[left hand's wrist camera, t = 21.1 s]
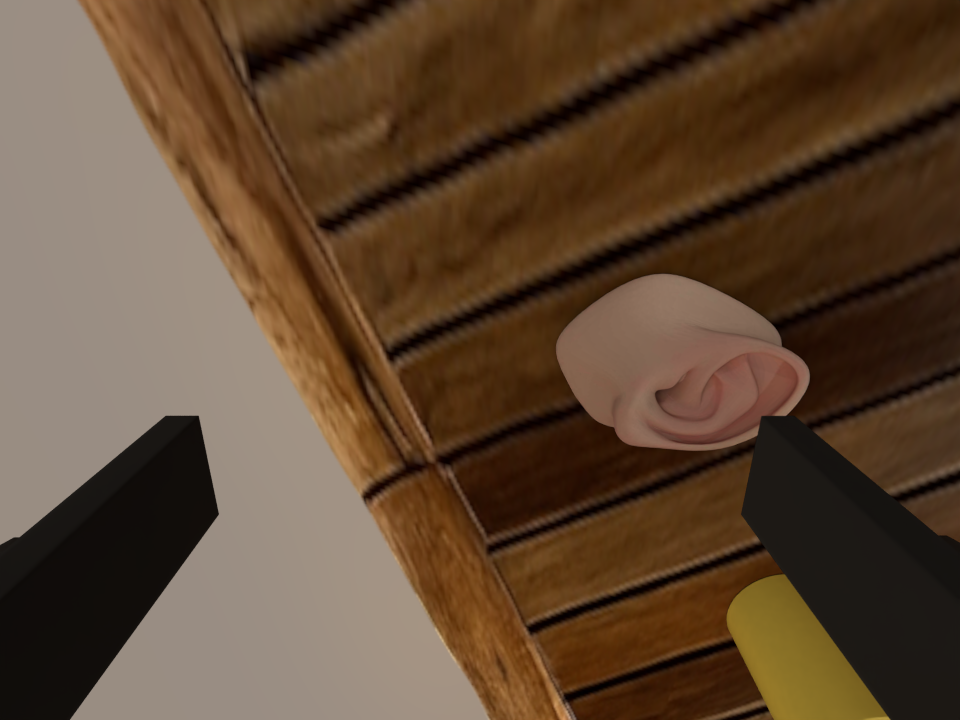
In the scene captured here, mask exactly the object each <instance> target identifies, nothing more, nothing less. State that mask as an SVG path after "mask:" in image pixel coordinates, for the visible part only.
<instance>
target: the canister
mask: <svg viewBox="0 0 960 720" xmlns="http://www.w3.org/2000/svg"><path fill="white" fill-rule="evenodd" d="M727 626H728V629H729V631H730V633H731V635H732V637H733V639H734V641H735V643H736V645H737V647H738V649H739V651H740V653H741V655H742V657H743V659H744V661H745V663H746V665H747V667H748V669H749V671H750V673H751V675H752V677H753V679H754V681H755V683H756V685H757V687H758V689H759V691H760V693H761V695H762V697H763V699H764V701H765V703H766V705H767V707H768V709H769V711H770V713H771V715H772V717H773V719H774V720H890V719H889V717H888V716H887V715H886V713H885V712H884V711H883V709H882V708H881V706H880V705H879V704H878V702H877V701H876V700H875V698H874V697H873V695H872V694H871V693H870V691H869V690H868V688H867V687H866V686H865V684H864V683H863V682H862V680H861V679H860V677H859V676H858V675H857V673H856V672H855V671H854V669H853V668H852V666H851V665H850V664H849V662H848V661H847V660H846V658H845V657H844V655H843V654H842V653H841V651H840V650H839V649H838V647H837V646H836V644H835V643H834V642H833V640H832V639H831V638H830V636H829V635H828V633H827V632H826V631H825V629H824V628H823V626H822V625H821V624H820V622H819V621H818V620H817V618H816V617H815V615H814V614H813V613H812V611H811V610H810V609H809V607H808V606H807V604H806V603H805V602H804V600H803V599H802V598H801V596H800V595H799V593H798V592H797V591H796V589H795V588H794V587H793V585H792V584H791V582H790V581H789V580H788V578H787V577H786V575H785V574H781V575H774V576H769V577H766V578H763V579H760V580H758V581H756V582H754V583H752V584H750V585H749V586H747V587H746V588H744V589H743V590H742V591H741V592H740V593H739V594H738V595H737V596H736V597H735V598H734V600H733V601H732V603H731V604H730V607H729V609H728V613H727Z"/></svg>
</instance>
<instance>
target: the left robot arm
mask: <svg viewBox="0 0 960 720" xmlns="http://www.w3.org/2000/svg"><path fill="white" fill-rule="evenodd" d="M218 515H219V513H218V508H217V503H216V498H215V493H214V488H213V483H212V479H211V474H210V469H209V464H208V459H207V454H206V449H205V444H204V440H203V435H202V430H201V425H200V420H199V416H165V417H164V418H163V419H161V420H160V421H159V422H158V423H157V424H155V425H154V426H153V427H152V428H151V429H149V430H148V431H147V432H146V433H145V434H143V435H142V436H141V437H140V438H139V439H137V440H136V441H135V442H134V443H133V444H131V445H130V446H129V447H128V448H126V449H125V450H124V451H123V452H122V453H120V454H119V455H118V456H117V457H116V458H114V459H113V460H112V461H111V462H110V463H109V464H107V465H106V466H105V467H104V468H103V469H101V470H100V471H99V472H98V473H96V474H95V475H94V476H93V477H92V478H90V479H89V480H88V481H87V482H86V483H84V484H83V485H82V486H81V487H80V488H78V489H77V490H76V491H75V492H74V493H72V494H71V495H70V496H69V497H68V498H66V499H65V500H64V501H63V502H62V503H60V504H59V505H58V506H57V507H56V508H54V509H53V510H52V511H51V512H50V513H48V514H47V515H46V516H45V517H44V518H42V519H41V520H40V521H39V522H38V523H36V524H35V525H34V526H33V527H31V528H30V529H29V530H28V531H27V532H26V533H24V534H23V535H22V536H21V537H15V538H12V539H10V540H9V541H7V542H5V543H3V544H1V545H0V720H70V719H71V717H72V716H73V715H74V713H75V712H76V711H77V709H78V708H79V706H80V705H81V704H82V702H83V701H84V699H85V698H86V697H87V695H88V694H89V693H90V691H91V690H92V688H93V687H94V686H95V684H96V683H97V682H98V680H99V679H100V677H101V676H102V675H103V673H104V672H105V671H106V669H107V668H108V666H109V665H110V664H111V662H112V661H113V659H114V658H115V657H116V655H117V654H118V653H119V651H120V650H121V649H122V647H123V646H124V644H125V643H126V642H127V640H128V639H129V637H130V636H131V635H132V633H133V632H134V631H135V629H136V628H137V626H138V625H139V624H140V622H141V621H142V620H143V618H144V617H145V615H146V614H147V613H148V611H149V610H150V609H151V607H152V606H153V604H154V603H155V602H156V600H157V599H158V597H159V596H160V595H161V593H162V592H163V591H164V589H165V588H166V587H167V585H168V584H169V582H170V581H171V580H172V578H173V577H174V575H175V574H176V573H177V571H178V570H179V569H180V567H181V566H182V564H183V563H184V562H185V560H186V559H187V558H188V556H189V555H190V553H191V552H192V551H193V549H194V548H195V547H196V545H197V544H198V542H199V541H200V540H201V538H202V537H203V536H204V534H205V533H206V531H207V530H208V529H209V527H210V526H211V525H212V523H213V522H214V520H215V519H216V518H217V516H218ZM741 515H742V516H743V518H744V519H745V520H746V522H747V523H748V525H749V526H750V527H751V529H752V530H753V531H754V533H755V534H756V536H757V537H758V538H759V540H760V541H761V542H762V544H763V545H764V547H765V548H766V549H767V551H768V552H769V553H770V555H771V556H772V558H773V559H774V560H775V562H776V563H777V564H778V566H779V567H780V569H781V570H782V571H783V573H784V574H785V575H786V577H787V578H788V580H789V581H790V582H791V584H792V585H793V587H794V588H795V589H796V591H797V592H798V593H799V595H800V596H801V598H802V599H803V600H804V602H805V603H806V604H807V606H808V607H809V609H810V610H811V611H812V613H813V614H814V615H815V617H816V618H817V620H818V621H819V622H820V624H821V625H822V626H823V628H824V629H825V631H826V632H827V633H828V635H829V636H830V638H831V639H832V640H833V642H834V643H835V644H836V646H837V647H838V649H839V650H840V651H841V653H842V654H843V655H844V657H845V658H846V660H847V661H848V662H849V664H850V665H851V666H852V668H853V669H854V671H855V672H856V673H857V675H858V676H859V677H860V679H861V680H862V682H863V683H864V684H865V686H866V687H867V688H868V690H869V691H870V693H871V694H872V695H873V697H874V698H875V700H876V701H877V702H878V704H879V705H880V706H881V708H882V709H883V711H884V712H885V713H886V715H887V716H888V717H889V719H890V720H960V543H959V542H957V541H956V540H954V539H952V538H950V537H948V536H938V535H937V534H936V533H935V532H933V531H932V530H931V529H930V528H929V527H927V526H926V525H925V524H924V523H922V522H921V521H920V520H919V519H918V518H916V517H915V516H914V515H913V514H912V513H910V512H909V511H908V510H907V509H906V508H904V507H903V506H902V505H901V504H900V503H898V502H897V501H896V500H895V499H894V498H892V497H891V496H890V495H889V494H888V493H886V492H885V491H884V490H883V489H882V488H880V487H879V486H878V485H877V484H876V483H874V482H873V481H872V480H871V479H870V478H868V477H867V476H866V475H865V474H864V473H862V472H861V471H860V470H859V469H858V468H856V467H855V466H854V465H853V464H852V463H850V462H849V461H848V460H847V459H846V458H844V457H843V456H842V455H841V454H840V453H838V452H837V451H836V450H835V449H834V448H832V447H831V446H830V445H829V444H827V443H826V442H825V441H824V440H823V439H821V438H820V437H819V436H818V435H817V434H815V433H814V432H813V431H812V430H811V429H809V428H808V427H807V426H806V425H805V424H803V423H802V422H801V421H800V420H799V419H797V418H796V417H795V416H761V420H760V425H759V430H758V435H757V440H756V444H755V449H754V454H753V459H752V464H751V469H750V474H749V479H748V483H747V488H746V493H745V498H744V503H743V508H742V513H741Z"/></svg>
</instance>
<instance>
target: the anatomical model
mask: <svg viewBox="0 0 960 720" xmlns="http://www.w3.org/2000/svg"><path fill="white" fill-rule="evenodd" d="M556 354H557V359H558V362H559V364H560V367H561V370H562V372H563V374H564V376H565V377H566V379H567V381H568V383H569V385H570V387H571V389H572V391H573V393H574V394H575V396H576V398H577V399H578V400H579V402H580V403H581V404H582V406H583V407H584V408H585V409H586V411H587V412H588V413H589V414H590V415H591V416H592V417H593V418H594V419H595V420H596V421H598V422H600V423H602V424H604V425H607V426H611V427H614V428H615V431H616V433H617V435H618V437H619V438H620V439H621V440H622V441H623V442H625V443H627V444H629V445H633V446H641V447H654V448H665V449H676V450H693V451H697V450H714V449H721V448H725V447H729V446H733V445H736V444H738V443H741V442H744V441H746V440H749V439H751V438H753V437H755V436H757V435H758V430H759V425H760V420H761V416H786V415H787V414H788V413H789V412H790V411H791V410H792V409H793V408H794V407H795V405H796V404H797V403H798V402H799V401H800V399H801V398H802V396H803V395H804V393H805V391H806V389H807V387H808V384H809V380H810V374H809V370H808V367H807V365H806V364H805V362H804V361H803V360H802V359H801V358H800V357H799V356H797V355H796V354H794V353H793V352H791V351H789V350H787V349H785V348H783V347H782V343H781V338H780V335H779V333H778V331H777V330H776V328H775V327H774V326H773V325H772V324H771V323H770V322H769V321H767V320H766V319H765V318H764V317H763V316H761V315H760V314H758V313H757V312H755V311H754V310H752V309H751V308H749V307H748V306H746V305H744V304H743V303H741V302H739V301H737V300H735V299H734V298H732V297H730V296H728V295H726V294H724V293H722V292H720V291H718V290H716V289H714V288H712V287H709V286H707V285H705V284H702V283H700V282H697V281H694V280H692V279H689V278H686V277H682V276H678V275H671V274H653V275H649V276H644V277H641V278H638V279H635V280H632V281H630V282H628V283H626V284H624V285H621V286H619V287H618V288H616V289H614V290H612V291H611V292H609V293H607V294H606V295H604V296H603V297H601V298H600V299H599V300H597V301H596V302H594V303H593V304H592V305H590V306H589V307H588V308H587V309H585V310H584V311H583V312H581V313H580V314H579V315H578V316H577V317H576V318H575V319H574V320H573V321H571V322H570V323H569V324H568V326H567V327H566V328H565V329H564V330H563V332H562V333H561V335H560V336H559V338H558V341H557V344H556Z"/></svg>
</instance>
